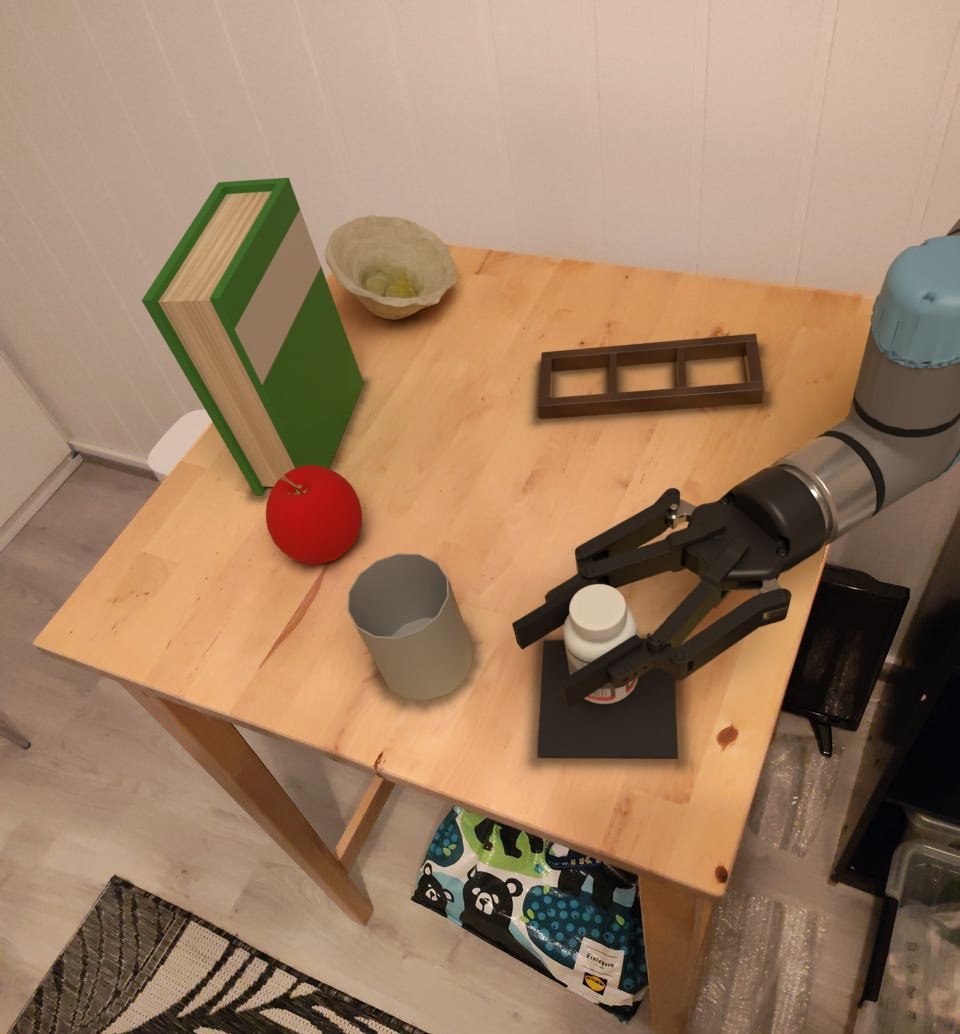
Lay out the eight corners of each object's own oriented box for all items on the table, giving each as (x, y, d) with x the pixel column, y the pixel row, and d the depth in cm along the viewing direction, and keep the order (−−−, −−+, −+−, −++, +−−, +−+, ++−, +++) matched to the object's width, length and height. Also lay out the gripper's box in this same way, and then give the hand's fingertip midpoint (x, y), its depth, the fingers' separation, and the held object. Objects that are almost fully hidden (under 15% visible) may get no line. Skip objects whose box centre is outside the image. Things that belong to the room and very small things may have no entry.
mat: (672, 640, 71) (672, 637, 71) (677, 759, 65) (677, 756, 65) (544, 643, 73) (543, 640, 73) (538, 758, 67) (537, 755, 67)
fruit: (317, 499, 88) (282, 428, 80) (388, 521, 84) (359, 449, 76) (267, 564, 84) (225, 497, 76) (339, 590, 81) (303, 523, 72)
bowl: (438, 352, 98) (418, 275, 89) (332, 345, 102) (303, 271, 94) (477, 273, 105) (461, 195, 96) (376, 269, 109) (353, 194, 101)
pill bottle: (612, 636, 68) (607, 563, 60) (652, 682, 65) (653, 612, 57) (557, 670, 67) (544, 601, 59) (595, 718, 64) (588, 652, 56)
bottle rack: (754, 347, 89) (756, 333, 87) (762, 403, 84) (764, 389, 83) (543, 365, 93) (541, 351, 92) (539, 419, 89) (537, 406, 87)
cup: (390, 712, 72) (356, 652, 64) (372, 638, 77) (338, 573, 68) (483, 682, 72) (461, 617, 64) (459, 609, 77) (436, 540, 68)
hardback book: (317, 497, 88) (219, 298, 68) (255, 494, 90) (141, 300, 70) (363, 383, 97) (288, 177, 77) (306, 382, 99) (218, 182, 79)
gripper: (875, 615, 62) (618, 784, 58) (711, 473, 71) (483, 610, 68) (900, 551, 55) (614, 737, 52) (717, 406, 65) (466, 553, 62)
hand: (540, 665), depth 60 cm, fingers closed on pill bottle, 5 cm apart
